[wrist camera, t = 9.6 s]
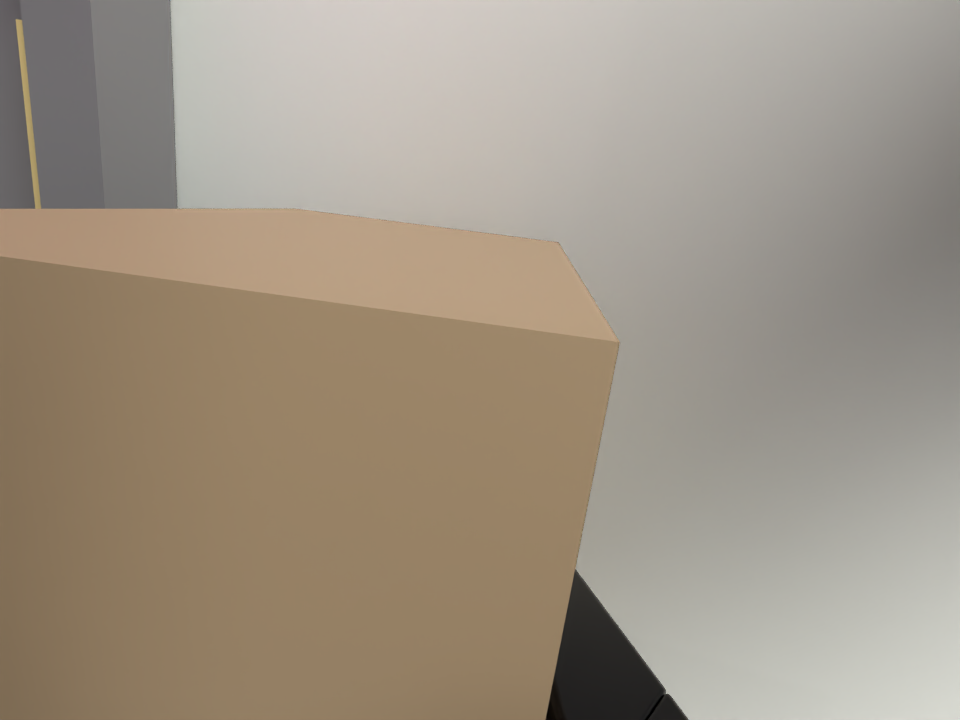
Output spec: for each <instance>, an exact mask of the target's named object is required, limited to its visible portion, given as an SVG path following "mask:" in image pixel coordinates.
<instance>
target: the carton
mask: <svg viewBox="0 0 960 720" xmlns="http://www.w3.org/2000/svg"><path fill="white" fill-rule="evenodd" d="M619 343H620V342H619V340H618V338H617V337H616V335H615V334H614V332H613V330H612V329H611V327H610V325H609V324H608V322H607V321H606V319H605V317H604V316H603V314H602V312H601V311H600V309H599V308H598V306H597V304H596V303H595V301H594V299H593V298H592V296H591V295H590V293H589V291H588V290H587V288H586V287H585V285H584V283H583V282H582V280H581V278H580V277H579V275H578V274H577V272H576V270H575V269H574V267H573V265H572V264H571V262H570V261H569V259H568V257H567V256H566V254H565V252H564V251H563V249H562V248H561V246H560V244H559V243H558V242H552V241H544V240H536V239H528V238H520V237H513V236H505V235H497V234H489V233H481V232H473V231H466V230H458V229H450V228H442V227H434V226H426V225H419V224H411V223H403V222H395V221H387V220H380V219H372V218H364V217H356V216H348V215H340V214H333V213H325V212H317V211H309V210H301V209H0V720H545V719H546V714H547V709H548V704H549V699H550V694H551V689H552V684H553V679H554V674H555V669H556V664H557V659H558V653H559V648H560V643H561V638H562V633H563V628H564V623H565V618H566V613H567V608H568V603H569V598H570V592H571V587H572V582H573V577H574V572H575V567H576V562H577V557H578V552H579V547H580V542H581V537H582V531H583V526H584V521H585V516H586V511H587V506H588V501H589V496H590V491H591V486H592V481H593V476H594V470H595V465H596V460H597V455H598V450H599V445H600V440H601V435H602V430H603V425H604V420H605V415H606V409H607V404H608V399H609V394H610V389H611V384H612V379H613V374H614V369H615V364H616V359H617V354H618V349H619Z"/></svg>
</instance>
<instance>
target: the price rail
mask: <svg viewBox="0 0 960 720" xmlns="http://www.w3.org/2000/svg"><path fill="white" fill-rule="evenodd" d="M0 209H177V190H176V161H175V132H174V104H173V75H172V46H171V17H170V0H0Z"/></svg>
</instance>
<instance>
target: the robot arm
mask: <svg viewBox="0 0 960 720" xmlns="http://www.w3.org/2000/svg"><path fill="white" fill-rule="evenodd" d="M545 720H688V718H687V717H686V716H685V714H684V713H683V712H682V710H681V709H680V708H679V706H678V705H677V704H676V702H675V701H674V700H673V698H672V697H671V696H670V695H669V694H666V690H665V688H664V687H663V685H662V684H661V683H660V681H659V680H658V679H657V677H656V676H655V675H654V673H653V672H652V671H651V669H650V668H649V667H648V665H647V664H646V663H645V661H644V660H643V659H642V657H641V656H640V655H639V653H638V652H637V651H636V649H635V648H634V647H633V645H632V644H631V643H630V641H629V640H628V639H627V637H626V636H625V635H624V633H623V632H622V631H621V629H620V628H619V627H618V625H617V624H616V623H615V621H614V620H613V619H612V617H611V616H610V615H609V613H608V612H607V611H606V609H605V608H604V607H603V605H602V604H601V603H600V601H599V600H598V599H597V597H596V596H595V595H594V593H593V592H592V591H591V589H590V588H589V587H588V585H587V584H586V583H585V581H584V580H583V579H582V577H581V576H580V574H579V573H578V572H577V570H576V569H575V572H574V577H573V582H572V587H571V592H570V598H569V603H568V608H567V613H566V618H565V623H564V628H563V633H562V638H561V643H560V648H559V653H558V659H557V664H556V669H555V674H554V679H553V684H552V689H551V694H550V699H549V704H548V709H547V714H546V719H545Z"/></svg>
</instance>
